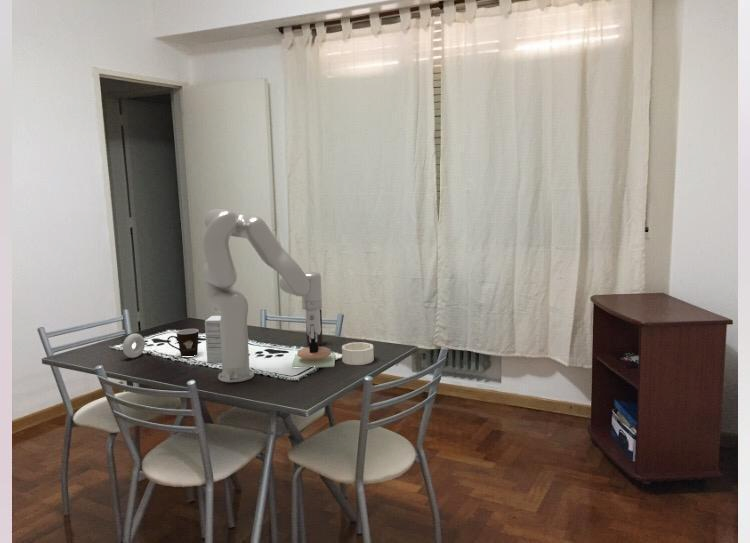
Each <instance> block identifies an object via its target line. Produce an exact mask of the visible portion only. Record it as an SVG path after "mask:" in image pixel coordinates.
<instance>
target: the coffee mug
mask: <svg viewBox="0 0 750 543" xmlns="http://www.w3.org/2000/svg"><path fill="white" fill-rule="evenodd" d="M199 333H200V331H199V329H198V328H185V329H181V330H177V331H176V335H171V336H168V338H167V339H166V342H167V344H168V345H169V346H170V347H171V348H173V349H176V350H178V351H179V353H180V357H181V356H194V355H197V356H198V352H199ZM171 338H174V339H176V342H178V343H177V344H178V347H176V346H174V345H173V344H171V343H170V342H169V340H170V339H171ZM194 357H195V356H194Z"/></svg>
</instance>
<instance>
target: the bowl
mask: <svg viewBox="0 0 750 543" xmlns="http://www.w3.org/2000/svg"><path fill="white" fill-rule="evenodd" d="M374 354H375V353H374V344H372V343H368V342H365V341H364V342H363V341H362V342H359V341H358V342H348V343H345V344H342V345H341V355H342V356H341V357H342V363H343V364H345V365H348V366H349V365H350V366H364V365H365V366H366V365H368V364H372V363H373V362H374V357H375V356H374Z"/></svg>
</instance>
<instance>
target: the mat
mask: <svg viewBox="0 0 750 543" xmlns="http://www.w3.org/2000/svg"><path fill="white" fill-rule="evenodd" d="M335 360H336V353H335V352H331V354H330V355H329V356H326V357H323V358H316V359H307V358H301V357H299V356H298V355H297V354H295V355H294V357H293V360H292V364H291V368H292V367H311V366H312V367H313V366H315V368H335V365H336V364H335V363H336V362H335Z"/></svg>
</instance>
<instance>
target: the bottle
mask: <svg viewBox="0 0 750 543" xmlns="http://www.w3.org/2000/svg"><path fill="white" fill-rule="evenodd" d="M322 314H323V313H322V308H321V309H320V323H321V332H320V335H318V334H317V337H318V347H321V346H322V345H323V344H324V343H323V342H324V341H323V339H324V338H323V317H322ZM305 326H306V325H305ZM305 328H306V331H305V332H306V345H307V346H308V347H309V342H310V338H309V335H308V334H307V326H306V327H305Z"/></svg>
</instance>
